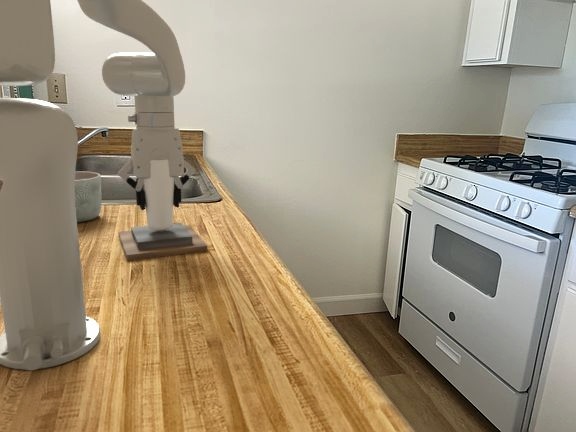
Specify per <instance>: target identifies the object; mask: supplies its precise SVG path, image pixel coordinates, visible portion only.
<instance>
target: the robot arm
mask: <svg viewBox="0 0 576 432" xmlns="http://www.w3.org/2000/svg"><path fill="white" fill-rule="evenodd" d="M77 3H78V5H79V8H80V9H81V11H82V12H83V14H84V15H85V16H86V17H87V18H89V19H90V20H92V21H94V22H95V23H97V24H99V25H102V26H104V27H106V28H110V29H111V30H113V31H115V32H119V33H121V34H124V35H125V36H127V37H130V38H132V39H134V40H136V41H138V42H140V43H141V44H143V45H144V46H145V47H147V48H148V49H149V50H150V51H151V52H118V53H113V54H110V56H108V57H107V58H106V59H105V60H104V62H103V65H102V67H101V77H102V81H103V83H104V85H105V86H106V87H107V89H108V90H110V91H111V92H112V93H114V94H116V95H118V96H124V97H125V96H127V97H134V113H133V114H130V115H129V114H128V115H127V120H128V121H127V122H128V123H132V124H135V127H133V128H132V132H131V133H132V134H131V144H130V159H129V160H128V161H127V162H126V163H125V164H124V165H123V166H122V167H121V168H120V169H119V171H118V172H117V175H118V176H119V177H120V178H121V179H122V180H123V181H124V182H126V183H127V184H128V185H129V186H130V187H131V188H132V189H134V190H135V200H136V206H139V208H140V210H141V211H145V210H146V208H145V195H144V191H143V188H142V187H143V184H144V179H149V178H150V177H151V164H150V161H152V160H166V159H167V160H168V161H169V163H168V165H169V176H170V177H174V201H173V207H175V208H180V203H182V189H183V188H184V187H183V186H184V185H186V183H187V182H188V181H189V180H190V178H191V177H192V176H193V175H194V174H195V173H196V168H195V167H194V166H193V165H191V164H190V163H189V162H188V161H187V160H186V159H185V158H184V151H183V144H182V143H183V142H182V137H181V131H180V128H179V127H176V126H175V124H176V123H175V103H174V101H175V100H174V97H175V96H178V95H179V94H180V93H181V92H182V91H183V89H184V87H185V84H186V69H185V66H184V65H185V64H184V61H183V57H182V53H181V50H180V47H179V44H178V40H177V38H176V36H175V34H174V32H173V30H172V28H171V26H170V25H169V24H168V23H167V22H166V20H164V19H163V18H162V17H161V16H160V15H159V14H158V13H157V12H156V11H155V10H154V9H153V8H152V7H151V6H150V5H148V4H147V3H146V2H145V1H143V0H77ZM51 5H52V3H51V0H0V86H1V87H23V86H33V85H38V84H41V83H44V82H45V81H47V80H49V78H50V77H51V76H52V75H53V72H54V69H55V65H56V63H55V62H56V53H55V52H56V50H55V49H56V48H55V46H56V45H55V37H54V35H55V34H54V26H53V16H52V6H51ZM78 149H79V139H78V129H77V126H76V124H75V122H74V120H73V118H72V117H71V116H70V115H69V113H68V112H66V111H65V109H63V108H61V107H60V106H58V105H56V104H53V103H51V102H48V101H44V100H41V99H40V100H39V99H33V98H22V97H21V98H18V97H17V98H16V97H14V98H13V97H0V181H2V186H1V189H0V304H1V311H2V313H1V314H2V318H3V325H4V332H3V333H2V334H1V335H0V365H2V366H4V367H7V368H11V369H14V370H25V371H26V370H27V371H36V370H39V369H45V368H46V369H47V368H51V367H55V366H60V365H62V364H66V363H68V362H71V361H73V360H76V359H78V358H80V357H81V356H83V355H85V354H86V353H89V351H90V350H92V349H93V348H94V347H95V346H96V345H97V343H98V342H99V341H100V337H101V331H100V330H101V329H100V325H99V323H98V322H97V321H96V320H94V318H91V317H88V316H87V311H86V302H85V292H84V281H83V280H84V279H83V272H82V262H81V252H80V241H79V232H78V222H77V220H76V208H75V172H76V170H77V169H76V168H77V167H76V166H77V158H78ZM185 170H186V171H185ZM130 171H131V172H132V174H133V175H134V176H135V178H136V179H133V178H132V177H131V176H130V175H128V173H129V172H130ZM184 172H185V173H184Z"/></svg>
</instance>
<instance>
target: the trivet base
mask: <svg viewBox="0 0 576 432" xmlns="http://www.w3.org/2000/svg"><path fill="white" fill-rule="evenodd" d="M117 234H118V239H119V241H120V242H119V243H120V245H121V247H122V250H123V254H124V256H125V259H126V261H127V262H128V261H136V260H146V259H153V258H161V257H168V256H169V257H170V256H177V255H187V254H193V253H194V254H195V253H203V252H208V244H207V243H206V242H205V241H204V240H203V239H202V238H201V236H200V235H199V234H198V232H196V230H195V229H194V228H193V227H192V226H191V224H186V225H183V223H182V222H173V226H172V227H171V228H170V229H166V230H152V229H149V228H148V226H147V225H141V226H131V227H130V230H124V231H118V233H117Z"/></svg>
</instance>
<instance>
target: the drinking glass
mask: <svg viewBox="0 0 576 432" xmlns="http://www.w3.org/2000/svg"><path fill="white" fill-rule="evenodd" d="M168 163H169V161H168V160H167V159H166V160H152V161H150V164H151V177H150V178H149V179H144V184H143V187H142V188H143V191H144V195H145V214H146V215H145V216H146V226H148V228H149V229H152V230H166V229H170V228H171V227H172V226H173V223H174V205H173V201H174V177H170V176H169V165H168Z"/></svg>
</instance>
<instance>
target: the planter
mask: <svg viewBox="0 0 576 432" xmlns="http://www.w3.org/2000/svg"><path fill="white" fill-rule="evenodd" d="M101 178H102V176H101V174H100V173H98V172H93V171H80V170H79V171H75V208H76V220H77V223H82V222H88V221H92V220H93V219H94V220H95V218H97V217H98V216H100V214H101V210H102V182H101V181H102V180H101Z"/></svg>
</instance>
